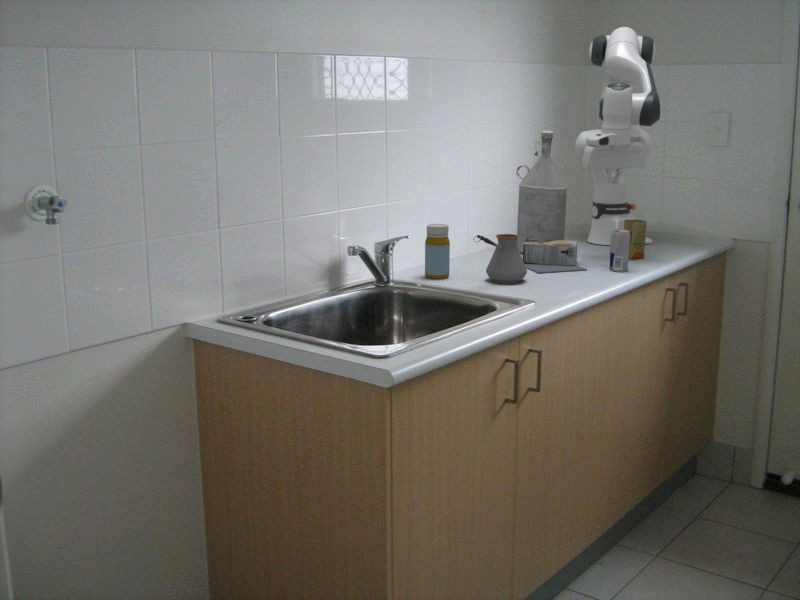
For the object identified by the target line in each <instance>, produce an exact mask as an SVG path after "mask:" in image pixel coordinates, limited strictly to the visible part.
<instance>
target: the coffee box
mask: <svg viewBox="0 0 800 600" xmlns="http://www.w3.org/2000/svg"><path fill="white" fill-rule="evenodd" d="M577 257H578V240H569V239H567V240H566V239H564V240H542V239H526V240H525V242H524V244H523V253H522V259H523V262H524V263H529V264H551V265H574V266H575V265H577V264H576V263H577V260H578V258H577Z"/></svg>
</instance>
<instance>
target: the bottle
mask: <svg viewBox="0 0 800 600" xmlns="http://www.w3.org/2000/svg"><path fill="white" fill-rule="evenodd" d="M449 230H450V229H449V225H448V224H445V223H430V224H429V223H428V224H427V225H426V239H425V242H424V276H425V277H426V278H427V279H430V278H431V280H445V279H447V278H449V276H450V260H451V258H450V255H451V253H450V250H451V249H450V247H451V244H450V238H449ZM444 278H445V279H444Z"/></svg>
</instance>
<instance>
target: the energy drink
mask: <svg viewBox="0 0 800 600" xmlns="http://www.w3.org/2000/svg"><path fill="white" fill-rule="evenodd" d="M629 243H630V232H629V230H624V229H615V230H612V233H611V245H610V249H609V250H610V255H609V268H608V269H609V270H610V271H611V272H615V273H616V272H617V273H625V272H627V271H629V260H630V259H629Z"/></svg>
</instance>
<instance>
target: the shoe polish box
mask: <svg viewBox="0 0 800 600" xmlns="http://www.w3.org/2000/svg"><path fill="white" fill-rule="evenodd" d="M646 229H647V221H646V220H641V219H638V218H637V219H633V220H624V230H629V232H630V243H629V259H628V260H631V261H633V260H644V259H645V247H646V244H645V236H646V237H647V232H646V231H647V230H646Z"/></svg>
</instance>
